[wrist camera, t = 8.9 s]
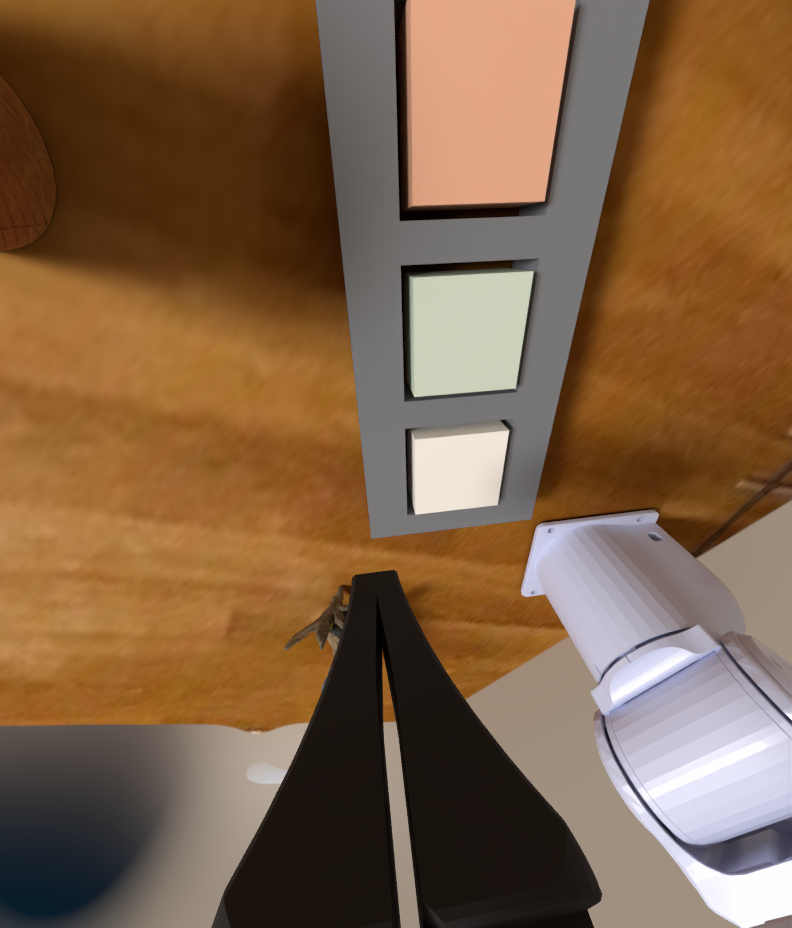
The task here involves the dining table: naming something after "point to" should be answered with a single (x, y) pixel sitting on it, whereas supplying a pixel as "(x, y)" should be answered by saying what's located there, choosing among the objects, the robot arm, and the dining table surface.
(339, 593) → the eagle figurine
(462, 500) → the ivory key
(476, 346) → the sage key
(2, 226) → the disposable coffee cup
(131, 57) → the dining table surface
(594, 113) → the key frame
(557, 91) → the terracotta key
